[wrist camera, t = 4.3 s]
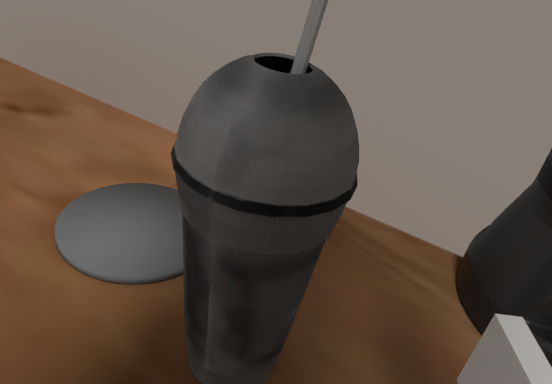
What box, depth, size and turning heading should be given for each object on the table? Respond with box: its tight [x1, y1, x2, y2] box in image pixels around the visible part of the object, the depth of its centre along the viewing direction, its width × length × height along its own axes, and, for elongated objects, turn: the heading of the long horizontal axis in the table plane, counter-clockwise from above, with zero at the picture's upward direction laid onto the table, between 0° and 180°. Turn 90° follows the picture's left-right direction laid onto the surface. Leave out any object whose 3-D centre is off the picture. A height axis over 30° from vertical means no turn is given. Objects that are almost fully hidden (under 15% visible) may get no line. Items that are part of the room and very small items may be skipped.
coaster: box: [55, 183, 184, 284], centre depth 32 cm, size 10×10×1 cm
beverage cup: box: [171, 0, 359, 384], centre depth 19 cm, size 7×7×20 cm
